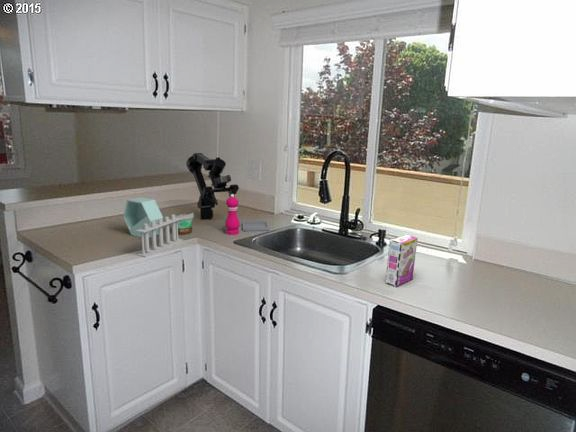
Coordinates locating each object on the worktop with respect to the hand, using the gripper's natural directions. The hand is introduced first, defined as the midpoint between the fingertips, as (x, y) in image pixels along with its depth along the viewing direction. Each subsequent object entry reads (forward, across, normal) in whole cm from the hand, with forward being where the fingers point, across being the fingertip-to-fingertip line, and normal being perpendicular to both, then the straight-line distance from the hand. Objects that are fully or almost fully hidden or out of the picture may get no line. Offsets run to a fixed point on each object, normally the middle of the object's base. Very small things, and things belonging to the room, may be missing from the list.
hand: (225, 203), depth 200 cm
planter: (+3, -39, +17) cm, 42 cm away
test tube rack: (+19, -37, 0) cm, 42 cm away
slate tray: (+13, +15, +6) cm, 21 cm away
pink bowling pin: (+15, 0, +4) cm, 16 cm away
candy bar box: (+75, +26, -56) cm, 97 cm away
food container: (+8, -21, +12) cm, 25 cm away
